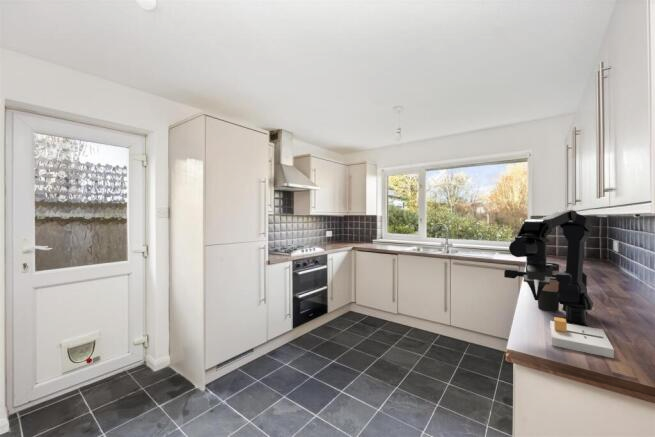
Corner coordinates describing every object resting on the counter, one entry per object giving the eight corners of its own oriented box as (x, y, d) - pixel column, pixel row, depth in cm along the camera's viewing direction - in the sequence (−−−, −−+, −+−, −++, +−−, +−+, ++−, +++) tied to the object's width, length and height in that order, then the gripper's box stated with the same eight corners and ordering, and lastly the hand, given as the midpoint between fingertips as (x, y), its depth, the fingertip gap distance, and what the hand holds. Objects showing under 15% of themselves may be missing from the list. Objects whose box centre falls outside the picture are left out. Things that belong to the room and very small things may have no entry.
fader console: (549, 327, 104) (549, 320, 104) (602, 336, 96) (602, 329, 96) (551, 345, 90) (551, 336, 90) (613, 358, 82) (613, 349, 81)
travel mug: (537, 305, 131) (537, 261, 130) (559, 308, 126) (559, 263, 126) (536, 309, 125) (536, 263, 125) (559, 313, 120) (559, 265, 120)
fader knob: (554, 326, 98) (554, 317, 98) (565, 328, 96) (565, 318, 96) (554, 330, 95) (554, 320, 95) (566, 332, 93) (566, 322, 93)
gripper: (502, 256, 99) (502, 301, 99) (573, 260, 87) (573, 311, 87) (505, 252, 107) (505, 294, 108) (570, 256, 96) (570, 302, 96)
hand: (536, 300), depth 99 cm, fingers closed
